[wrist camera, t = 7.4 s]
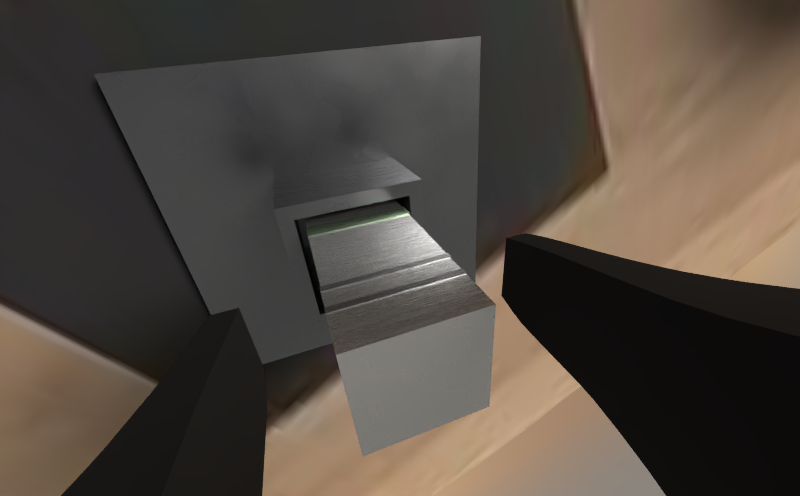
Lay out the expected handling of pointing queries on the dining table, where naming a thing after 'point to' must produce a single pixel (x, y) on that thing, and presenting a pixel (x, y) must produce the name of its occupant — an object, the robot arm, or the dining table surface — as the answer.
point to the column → (401, 323)
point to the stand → (301, 165)
